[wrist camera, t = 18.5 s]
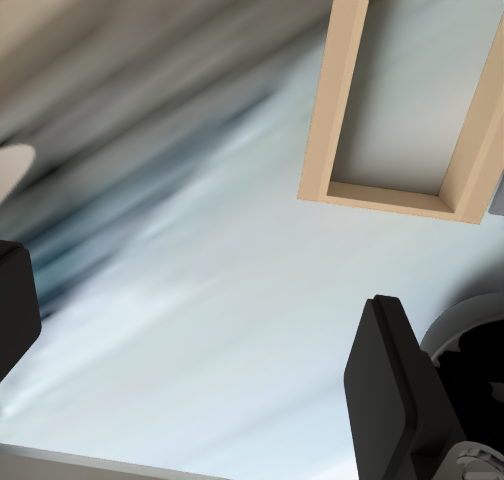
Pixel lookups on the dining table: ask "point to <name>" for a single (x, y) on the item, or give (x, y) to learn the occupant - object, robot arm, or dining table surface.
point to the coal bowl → (472, 365)
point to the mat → (498, 201)
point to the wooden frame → (465, 154)
